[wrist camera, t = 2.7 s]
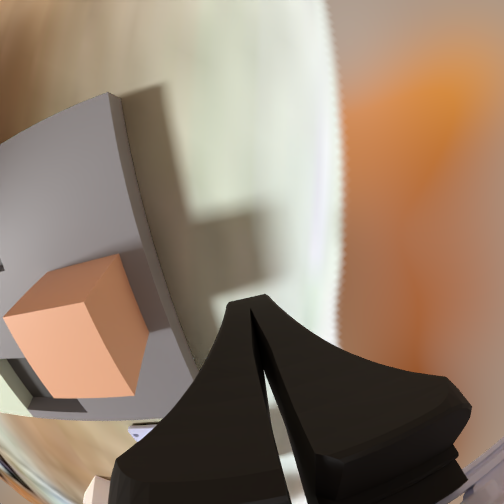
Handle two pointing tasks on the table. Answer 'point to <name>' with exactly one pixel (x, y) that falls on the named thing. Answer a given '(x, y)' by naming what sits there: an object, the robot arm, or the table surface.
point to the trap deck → (83, 254)
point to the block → (82, 330)
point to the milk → (97, 491)
